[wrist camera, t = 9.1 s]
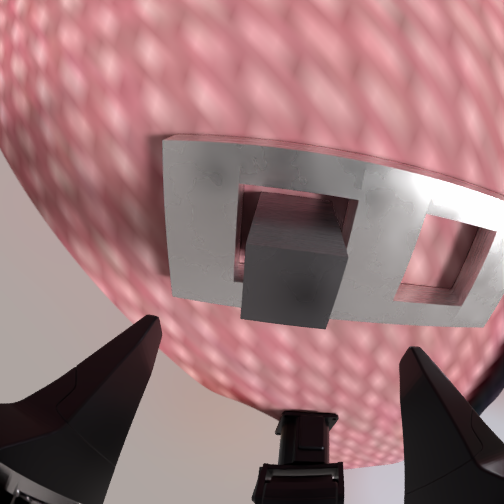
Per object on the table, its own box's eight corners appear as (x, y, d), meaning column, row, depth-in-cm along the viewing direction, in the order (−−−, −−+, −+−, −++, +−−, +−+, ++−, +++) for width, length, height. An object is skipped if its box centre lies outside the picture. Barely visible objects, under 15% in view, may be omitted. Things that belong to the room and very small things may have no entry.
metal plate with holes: (474, 311, 18) (483, 327, 17) (181, 278, 20) (172, 296, 18) (523, 203, 13) (538, 215, 12) (176, 133, 15) (162, 140, 13)
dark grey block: (318, 259, 18) (325, 329, 13) (255, 251, 18) (240, 318, 13) (331, 201, 16) (348, 257, 11) (261, 191, 16) (245, 243, 11)
